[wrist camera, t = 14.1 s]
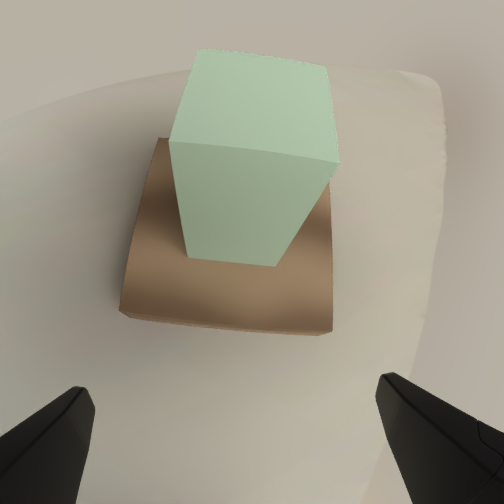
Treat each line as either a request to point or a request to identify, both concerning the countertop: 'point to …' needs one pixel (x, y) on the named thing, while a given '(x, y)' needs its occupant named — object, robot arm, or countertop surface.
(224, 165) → the sage block
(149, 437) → the countertop surface
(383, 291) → the countertop surface
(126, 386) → the countertop surface
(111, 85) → the countertop surface
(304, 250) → the walnut plinth
